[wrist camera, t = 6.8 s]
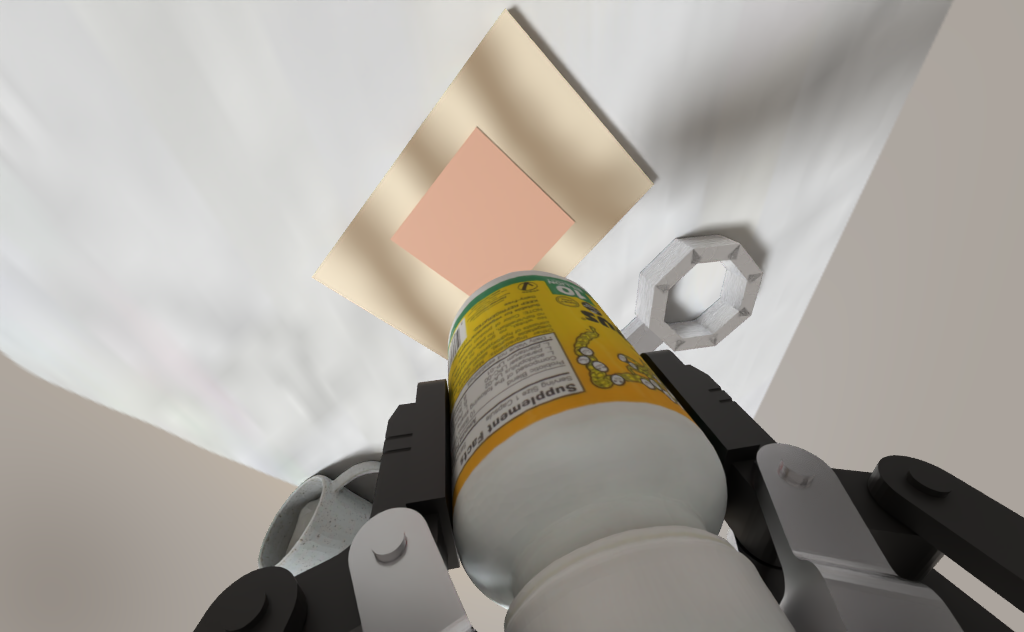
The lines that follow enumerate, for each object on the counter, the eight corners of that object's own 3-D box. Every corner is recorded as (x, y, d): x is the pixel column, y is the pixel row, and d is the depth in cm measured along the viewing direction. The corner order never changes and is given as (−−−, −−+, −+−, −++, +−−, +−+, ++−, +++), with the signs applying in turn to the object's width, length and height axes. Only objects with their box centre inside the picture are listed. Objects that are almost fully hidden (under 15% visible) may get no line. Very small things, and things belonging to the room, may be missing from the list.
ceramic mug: (348, 533, 39) (328, 619, 33) (277, 501, 36) (239, 590, 29) (421, 479, 37) (416, 559, 31) (354, 439, 34) (331, 519, 27)
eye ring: (701, 212, 29) (722, 220, 26) (755, 280, 32) (778, 292, 30) (541, 369, 33) (548, 387, 31) (605, 412, 37) (615, 431, 35)
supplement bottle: (415, 320, 12) (353, 765, 4) (558, 233, 12) (855, 534, 3) (499, 419, 15) (572, 815, 6) (620, 352, 14) (875, 692, 6)
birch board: (503, 11, 21) (505, 7, 20) (648, 182, 27) (654, 184, 26) (315, 273, 26) (311, 278, 25) (471, 369, 32) (472, 375, 31)
